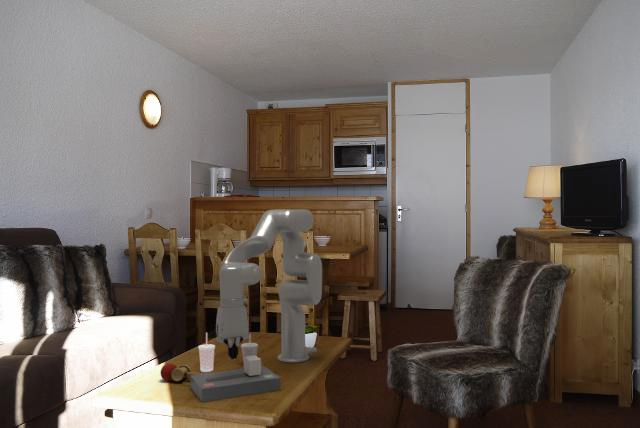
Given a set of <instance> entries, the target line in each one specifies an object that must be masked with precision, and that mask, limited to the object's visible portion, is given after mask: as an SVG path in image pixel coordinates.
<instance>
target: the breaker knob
mask: <svg viewBox="0 0 640 428" xmlns="http://www.w3.org/2000/svg"><path fill="white" fill-rule="evenodd" d="M261 366H262V358H260V357H258V356H257V355H256V356H255V355H253V356H245V357H244V362H243V369H244V372H245V373H247V374H248V375H249V376H253V375H260V374H261Z"/></svg>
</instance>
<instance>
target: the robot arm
mask: <svg viewBox="0 0 640 428" xmlns="http://www.w3.org/2000/svg"><path fill="white" fill-rule="evenodd" d="M314 222H315V221H314V215H313V213H312V212H311V211H310V210H309V209H307V208H306V209H286V208H285V209H269V210H266V211H265V212H264V213H263V214H262V216H261V217H260V220H259V221H258V223H257V225H256V227H255V229H253V232H252V233H251V235H250V237H249V238H247V239H246V240H244V241H242V242H241V243H239V244H238V245H237V246H236V247H234V248H233V249H231V251H230V252H229V253H228V255H227V256H226V258H225V260H224V262H223V264H222V266H221V268H220V269H219V295H220V298H219V299H220V300H219V301H220V303H219V304H220V305H219V307H217V310H216V311H217V313H216V320H215V322H216V324H215V334H216V342H217V343H222V344H223V343H224V344H225V345H226V346H227V354H228V357H229V358H230V359H231V360H234V359H237V358H238V356H239V347H240V345H241V343H242V342H243V341H245V340H247V339H249V319H248V315H247V314H248V313H247V308H246V305H245V303H248V297H244V286H252V285H253V286H254V285H255V284H257V283H259V282H260V280H261V279H262V276H263V275H262V274H263V273H262V271H263V270H262V269H261V267H260V266H259V265H258V264H257V263H253V262H246V261H248V260H249V259H251V258H254V257H257V256H260V255H262V254H265V253H267V252H269V251H271V249H272V247H273V245H274V243H275V241H276V239H277V238H278V235H280V238H281V241H282V270H283V273H284V275H286V276H288V277H289V276H290V277H299V278H306V280H305V279H287V280H284V281H282V282H281V283H280V285H279V286H278V297H279V303H280V310H281V311H280V313H281V315H280V316H281V317H280V318H281V320H280V321H281V323H280V324H281V327H280V329H281V335H280V336H281V353H280V354H278V355H277V360H278V361H279V362H282V363H291V364H294V363H303V362H306V361H308V360H309V359H310V355H309V354H310V353H312V354H313V353H317V347H311V346H310V347H309V346H306V313H305V311H304V308H303V306H305V305H307V306H316V305H318V304H320V301H321V300H322V295H323V263H322V259H321V258H320V256H319V255H318V254H316V253H313V252H305V240H304V238H303V237H304V236H303V234H302V232H303V233H304V232H308V231H310V230H311V229H312V227H313V226H314ZM302 305H303V306H302ZM232 339H233V341H232Z"/></svg>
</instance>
